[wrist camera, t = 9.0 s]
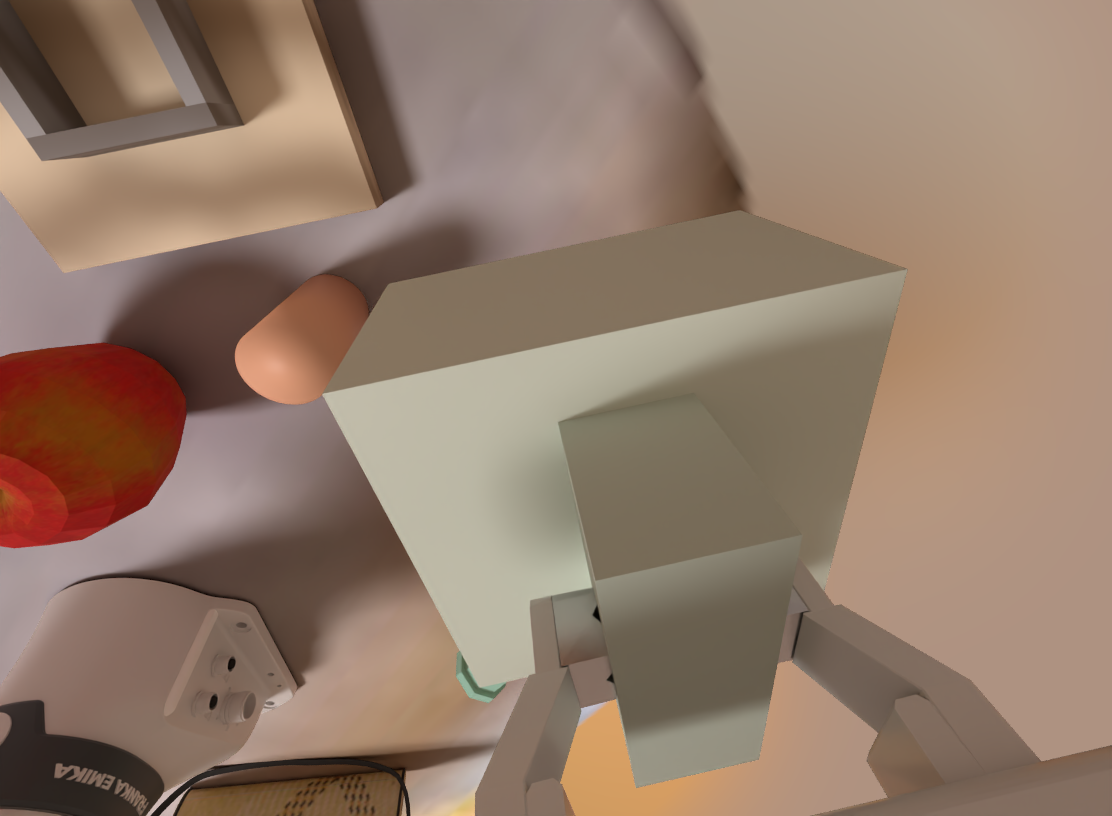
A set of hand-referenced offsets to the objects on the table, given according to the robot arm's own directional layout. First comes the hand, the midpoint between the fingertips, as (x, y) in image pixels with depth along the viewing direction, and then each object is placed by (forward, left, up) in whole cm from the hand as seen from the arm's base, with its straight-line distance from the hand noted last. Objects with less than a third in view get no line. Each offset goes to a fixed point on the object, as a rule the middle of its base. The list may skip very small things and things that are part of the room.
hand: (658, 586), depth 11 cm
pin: (+2, +13, -22) cm, 25 cm away
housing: (0, 0, -9) cm, 9 cm away
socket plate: (+15, +16, -22) cm, 31 cm away
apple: (0, +26, -22) cm, 34 cm away
